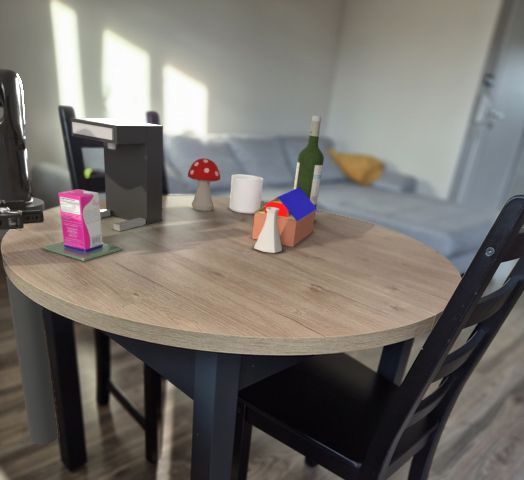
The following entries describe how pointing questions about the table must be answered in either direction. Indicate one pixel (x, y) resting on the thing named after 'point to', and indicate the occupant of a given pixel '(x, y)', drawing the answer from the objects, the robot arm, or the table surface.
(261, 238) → the flask
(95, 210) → the supplement box
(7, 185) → the robot arm
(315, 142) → the wine bottle
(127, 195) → the espresso machine
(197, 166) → the decorative mushroom
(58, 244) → the plate
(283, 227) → the house
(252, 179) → the mug
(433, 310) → the table surface
